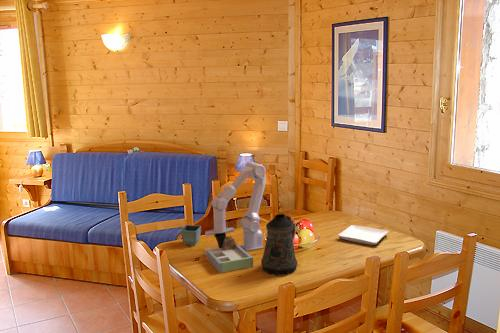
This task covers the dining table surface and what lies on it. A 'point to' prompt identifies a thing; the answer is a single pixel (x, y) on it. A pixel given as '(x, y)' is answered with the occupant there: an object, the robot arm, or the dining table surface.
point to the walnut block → (228, 243)
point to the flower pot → (190, 234)
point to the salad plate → (362, 234)
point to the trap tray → (229, 258)
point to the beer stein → (279, 247)
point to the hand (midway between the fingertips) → (220, 247)
